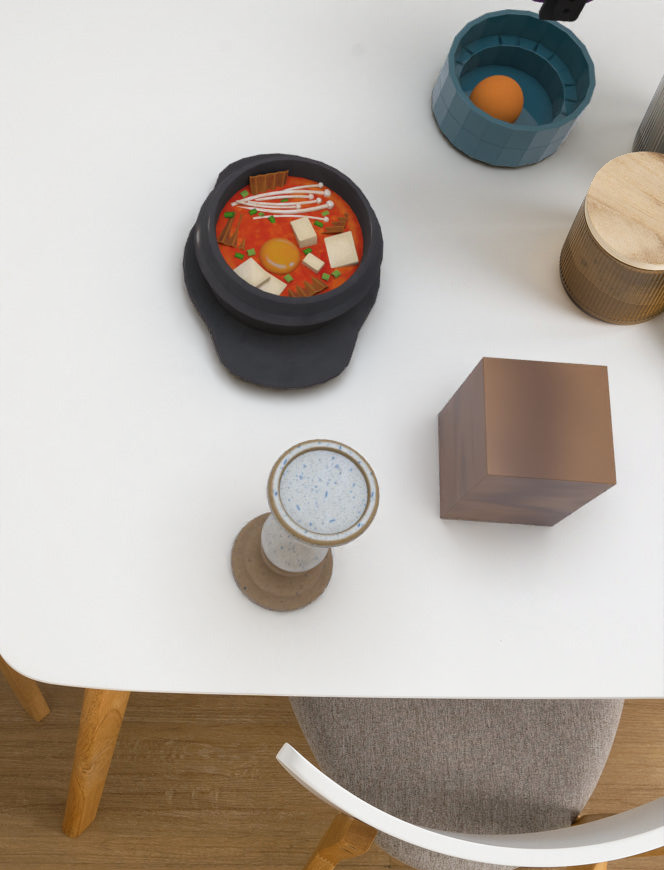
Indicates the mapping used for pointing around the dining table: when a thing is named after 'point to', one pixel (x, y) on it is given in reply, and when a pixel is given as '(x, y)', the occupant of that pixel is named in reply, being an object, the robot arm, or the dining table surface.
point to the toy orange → (499, 98)
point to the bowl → (534, 72)
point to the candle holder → (304, 523)
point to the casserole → (284, 268)
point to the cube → (525, 442)
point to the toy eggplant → (543, 1)
